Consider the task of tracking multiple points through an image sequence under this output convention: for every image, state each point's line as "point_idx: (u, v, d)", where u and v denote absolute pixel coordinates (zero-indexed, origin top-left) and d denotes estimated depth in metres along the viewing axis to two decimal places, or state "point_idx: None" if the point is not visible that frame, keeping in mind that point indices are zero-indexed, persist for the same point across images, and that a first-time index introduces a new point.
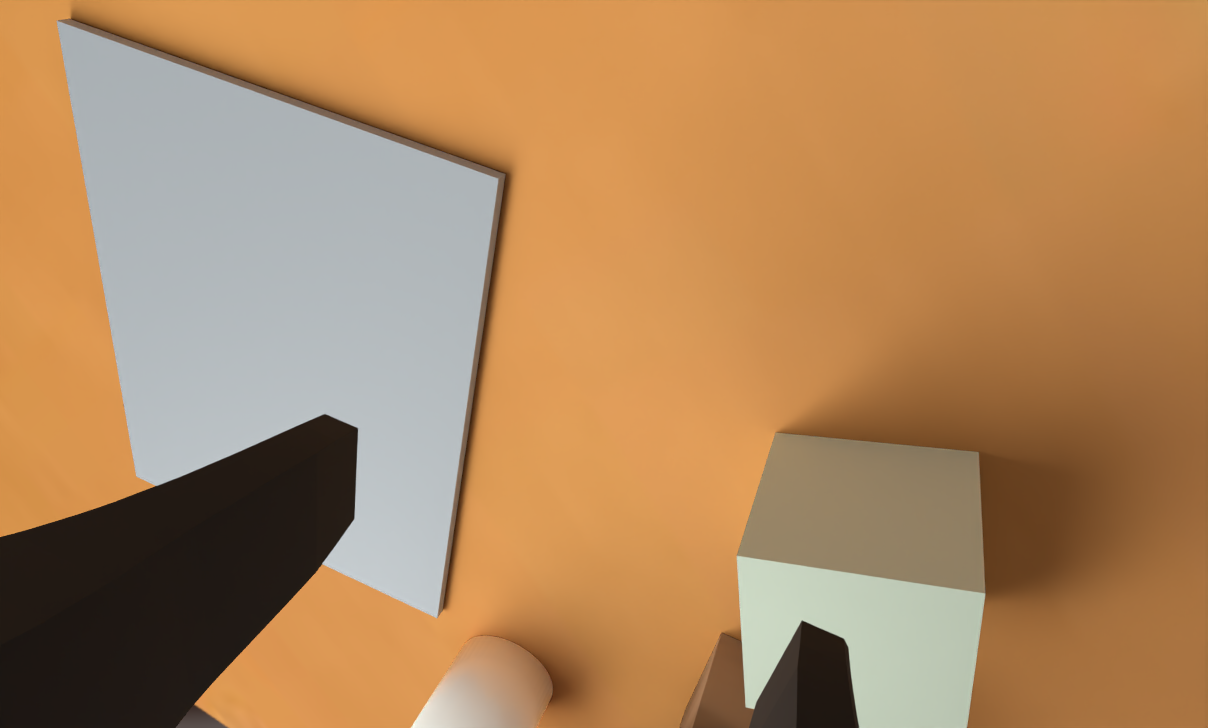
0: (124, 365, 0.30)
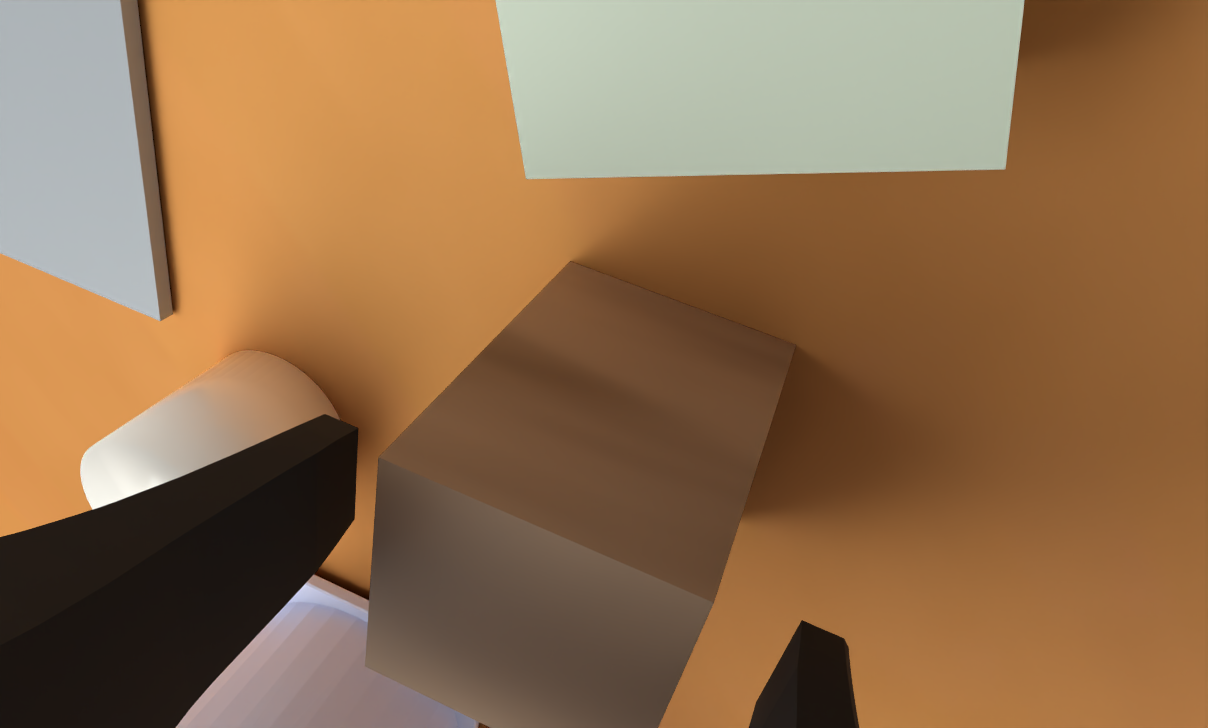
0: None
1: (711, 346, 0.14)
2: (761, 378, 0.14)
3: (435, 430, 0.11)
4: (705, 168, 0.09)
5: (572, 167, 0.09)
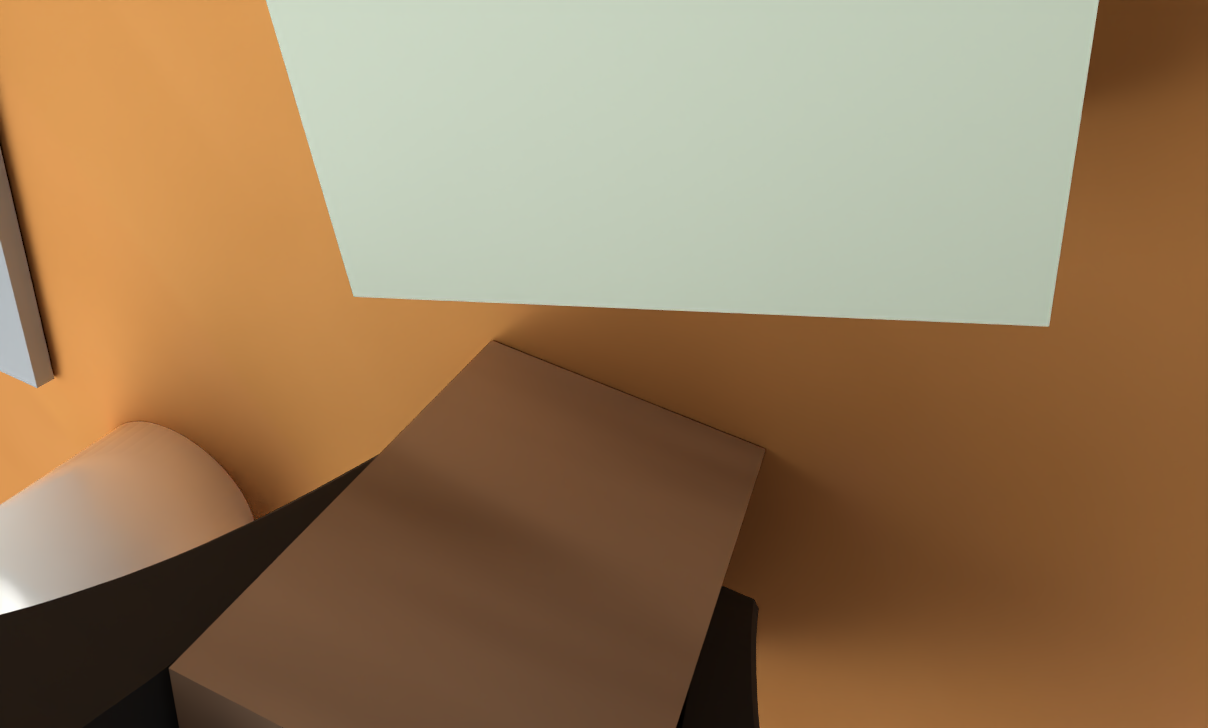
0: None
1: (656, 457, 0.11)
2: (717, 503, 0.11)
3: (262, 615, 0.08)
4: (595, 297, 0.06)
5: (412, 285, 0.06)
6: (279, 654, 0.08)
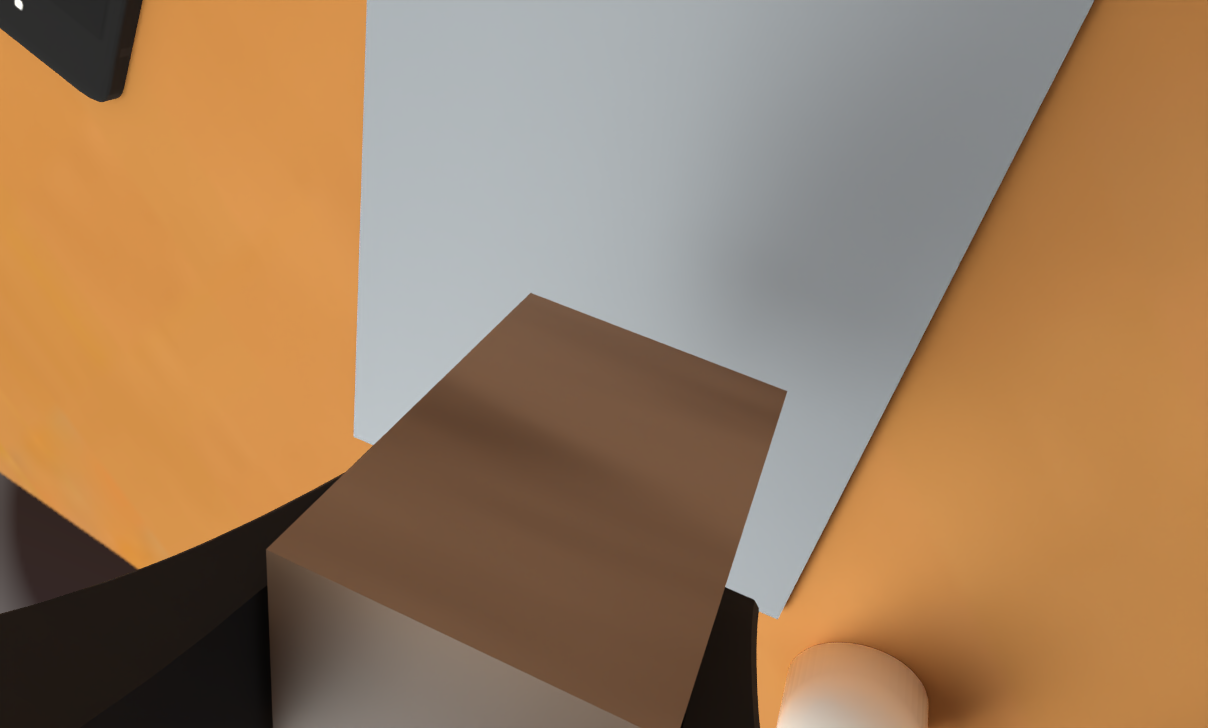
0: (370, 280, 0.22)
1: (688, 394, 0.12)
2: (745, 434, 0.12)
3: (343, 511, 0.09)
4: None
5: None
6: (362, 542, 0.09)
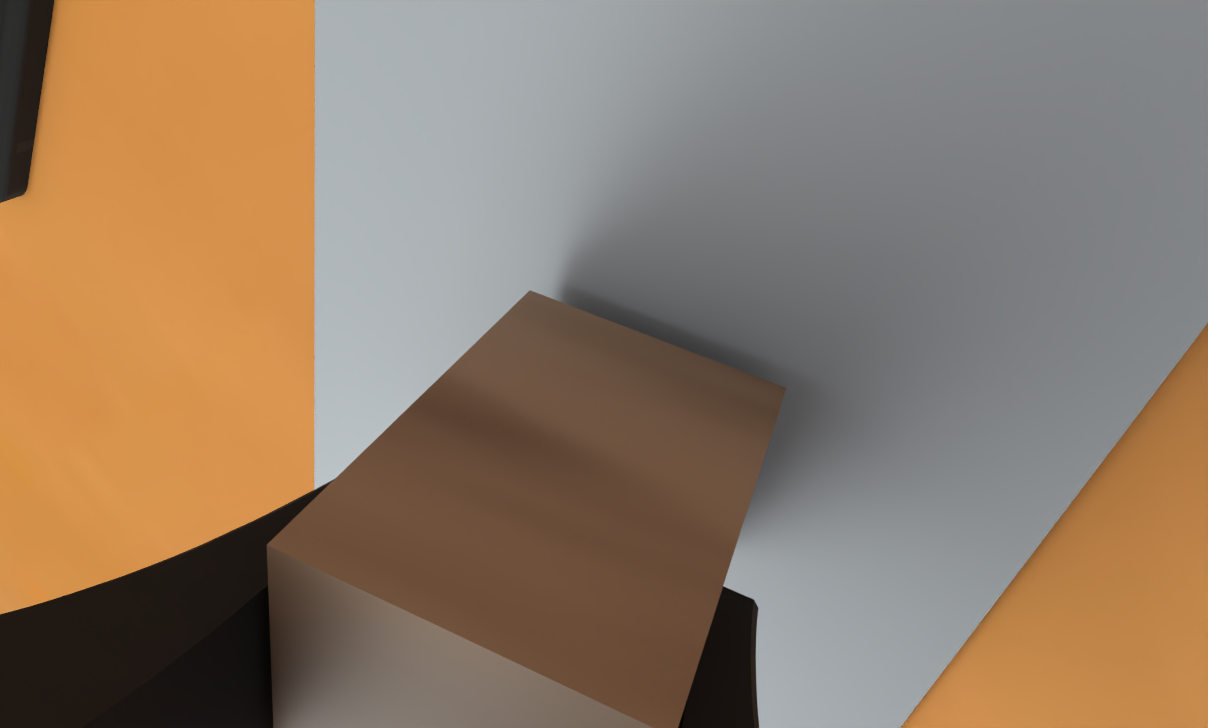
0: (328, 424, 0.18)
1: (687, 391, 0.12)
2: (744, 431, 0.12)
3: (344, 507, 0.09)
4: None
5: None
6: (362, 537, 0.09)
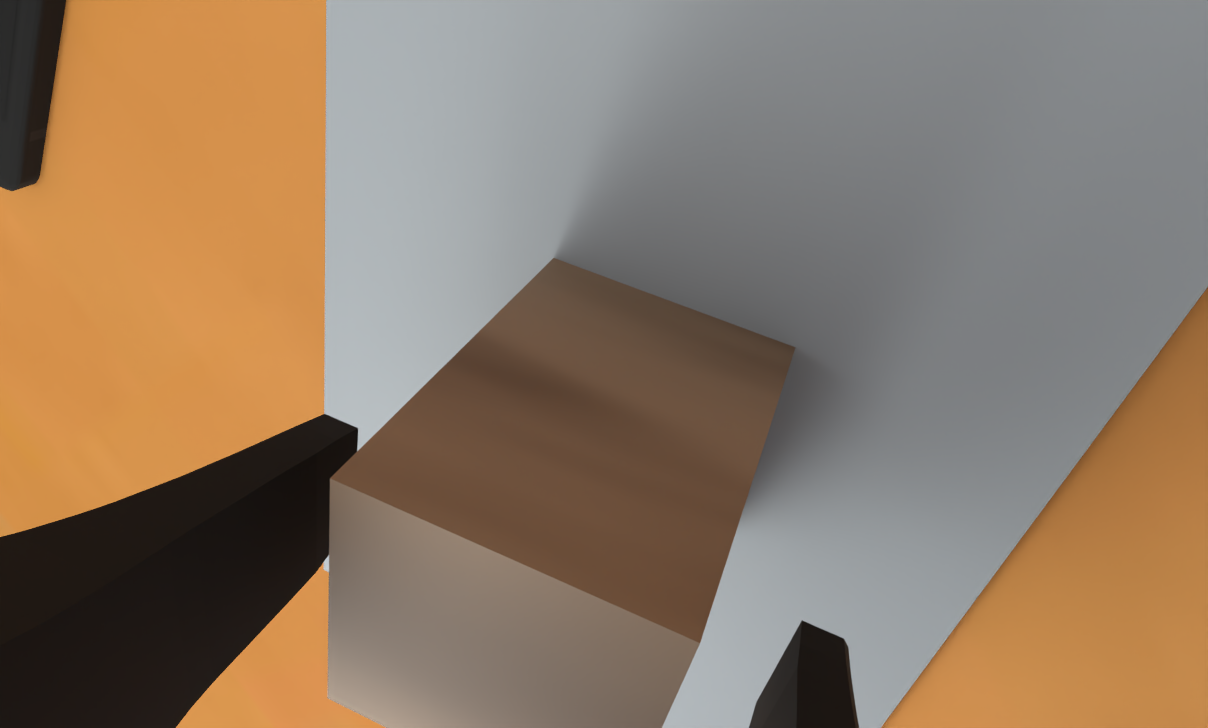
0: (338, 408, 0.18)
1: (702, 349, 0.13)
2: (757, 385, 0.13)
3: (396, 447, 0.10)
4: None
5: None
6: (414, 473, 0.10)
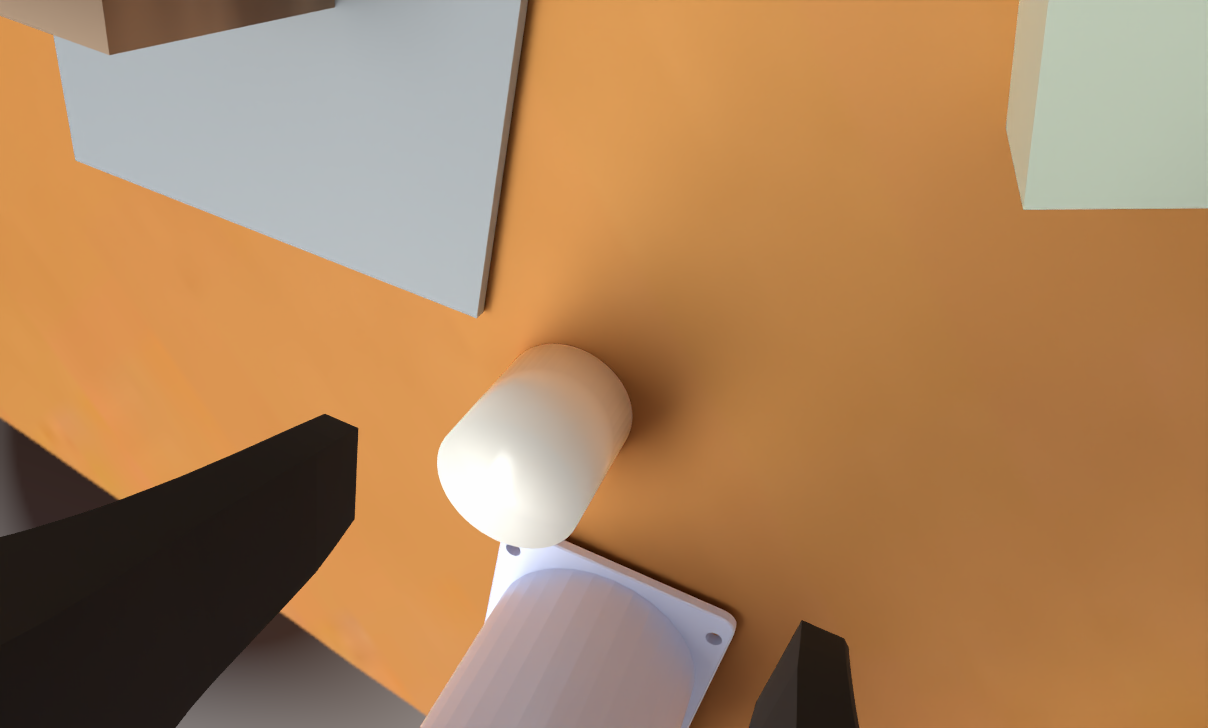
0: None
1: None
2: None
3: None
4: (1191, 203, 0.11)
5: (1069, 201, 0.12)
6: None
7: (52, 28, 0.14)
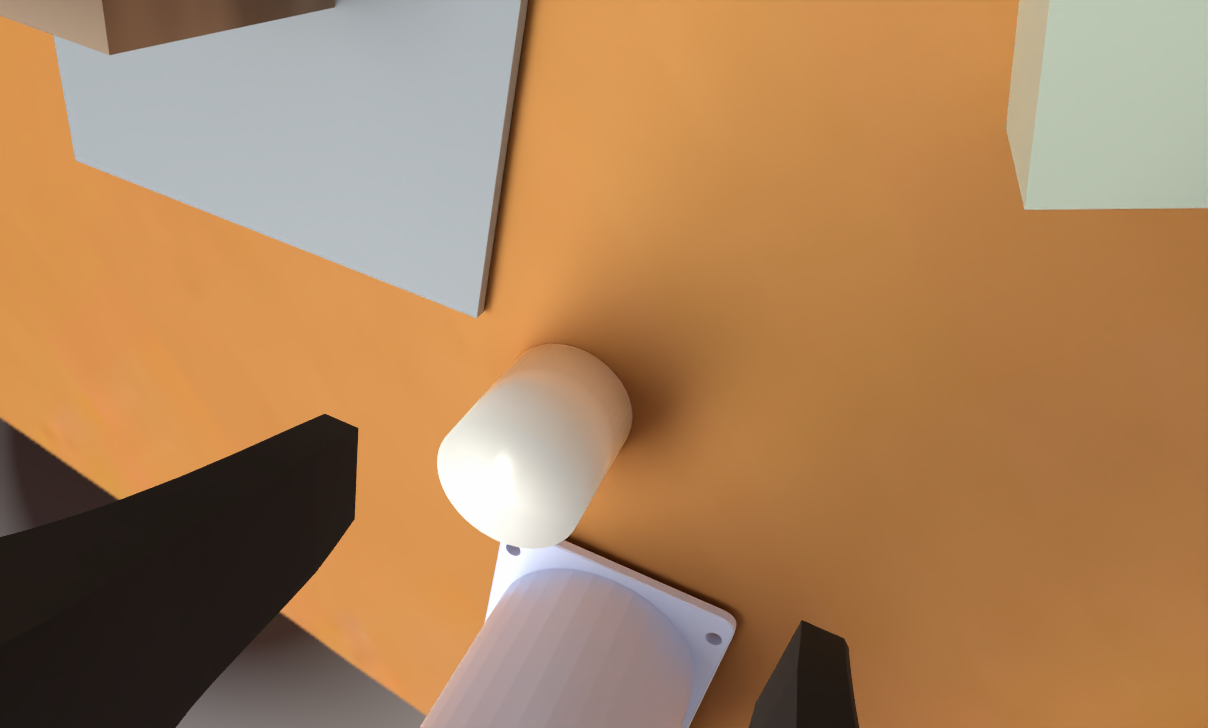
0: None
1: None
2: None
3: None
4: (1192, 203, 0.11)
5: (1070, 201, 0.12)
6: None
7: (52, 28, 0.14)
